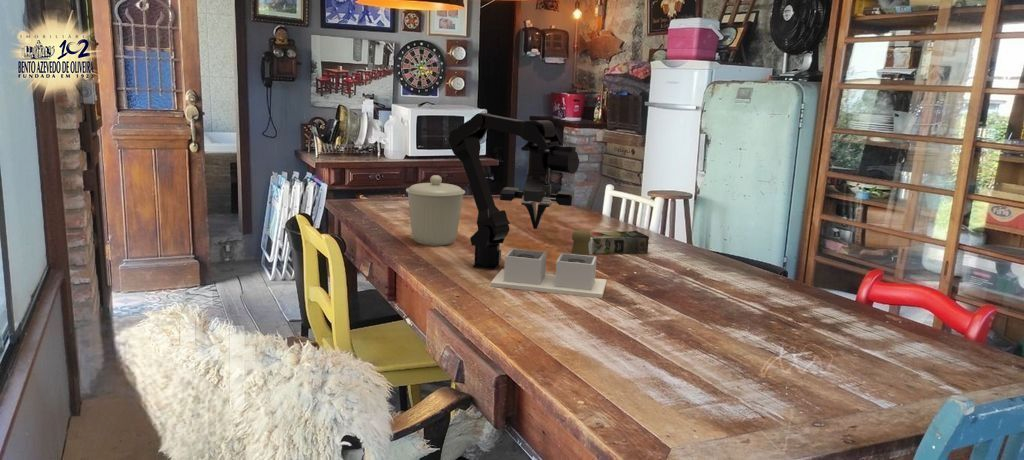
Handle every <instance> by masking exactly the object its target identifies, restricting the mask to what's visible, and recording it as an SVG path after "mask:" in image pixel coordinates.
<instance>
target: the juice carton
mask: <svg viewBox="0 0 1024 460" xmlns="http://www.w3.org/2000/svg"><path fill="white" fill-rule="evenodd" d="M589 232H590V235H591V239H590V241H589V243H588V246H589V255H590V256H595V255H597V256H598V255H603V256H605V255H635V254H636V255H637V254H638V255H640V254H641V255H644V254H645V255H646V254H648V253H649V252H648V251H649V240H650V236H649V235H647V234H645V233H642V232H639V231H638V230H631V231H628V230H627V231H625V230H624V231H619V230H618V231H617V230H616V231H611V230H610V231H605V230H604V231H589Z"/></svg>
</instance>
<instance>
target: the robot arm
mask: <svg viewBox="0 0 1024 460" xmlns="http://www.w3.org/2000/svg"><path fill="white" fill-rule="evenodd" d="M488 130H491V131H496V132H500V133H505V134H510V135H515V136H518V137H519V138H521V139H522V140H524V141H526V143H525V144H524V145H523V146H522V147H520V150H521V151H524V152H528V158H527V159H528V160H527V175H526V181H525V183H524V185H523V186H524V187H523V188H522V190H523V191H521V190H520V188H519V187H512V186H511V187H510V186H505V187H503V188H502V189H501V190H500V193H499V200H500V201H504V202H505V201H508V202H512V201H513V200H514V199H521V205H522V206H525V208H526V209H527V212H528V214H529V217H530V221H531V225H532V227H533V230H537V229H538V227H539V225H540V222H541V220H542V217H543V215H544V212H545V211H546V209H547V208H549V207H551V206H552V204H553V202H556V203H557V204H558V205H559V206H568V207H569V206H573V204H574V203H575V194H574V193H573V192H572V191H561V190H560V191H558V192H557V193H552V182H551V183H550V174H551V173H550V171H551V172H554V173H564V174H570V175H571V174H572V175H573V174H575V173H576V172H577V171H578V169H579V167H580V158H579V154H578V152H577V151H576V150H577V146H573V145H571V146H566V145H565V146H564V144H563V142H562V141H561V138H560V136H559V135H558V133H557V131H556V126H555V124H554V123H553V122H552V121H551V120H549V119H548V120H547V119H546V120H545V119H544V120H539V119H538V120H523V119H516V118H512V117H507V116H506V117H505V116H501V115H496V114H491V113H489V112H482V113H481V112H478V113H476V114H475V115H473V116H472V117H471V118H470V119H469V120H467V121H465V122H464V123H462V124H460V125H459V126H458V127H457V128H455V129H454V128H453V129H452V130H451V131H450V133H449V135H448V137H447V142H448V145H449V147H450V148H451V151H452V153H453V154H454V156H455V157H456V158H457V159H458V160H459V161H460V162H461V164H462V166H463V170H464V173H465V175H466V178H467V181H468V184H469V187H470V191H471V194H472V196H473V199H474V202H475V205H476V209H477V218H476V219H477V220H476V225H477V230H476V232H474V233H473V234H472V236H470V239H469V240H470V243H471V246H474V264H472V268H478V269H487V270H497V268H498V267H499V266H500V265H501V263H502V250H501V249H500V244H503V243H504V242H505V238H507V236H508V234H509V232H510V224H511V223H510V221H509V219H508V215H507V212H506V210H505V209H504V210H503V209H501V210H500V209H499V208H498V207H497V205H496V204H495V201H494V200H495V199H494V197H493V195H492V192H491V188H490V186H489V183H488V180H487V177H486V173H485V171H484V168H483V165H482V162H481V159H480V154H481V153H480V152H481V147H482V146H481V141H480V140H482V139H483V138H484V137H485V135H486V134H487V131H488ZM537 203H538V204H537Z"/></svg>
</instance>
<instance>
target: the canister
mask: <svg viewBox="0 0 1024 460" xmlns="http://www.w3.org/2000/svg"><path fill="white" fill-rule="evenodd" d="M429 181H430V182H421V183H416V184H412V185H410V186H409V187H406V189H405V192H406V193H407V196H408V199H407V200H408V207H409V208H408V209H409V220H410V228H411V229H410V230H411V235H412V238H413V240H414V241H415V242H416V243H418V244H420V245H425V246H433V247H436V246H438V247H439V246H448V245H451V244H452V243H454V242H455V240H456V239H457V235H458V230H459V224H460V218H461V210H462V203H463V197H464V195H465V194H466V191H465V190H464V189H462V187H460V186H458V185H456V184H452V183H451V184H450V183H445V182H444V183H443V182H442V181H443V180H442V176H440V175H438V174H436V175H435V174H433V175H432V176H430V178H429Z"/></svg>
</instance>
